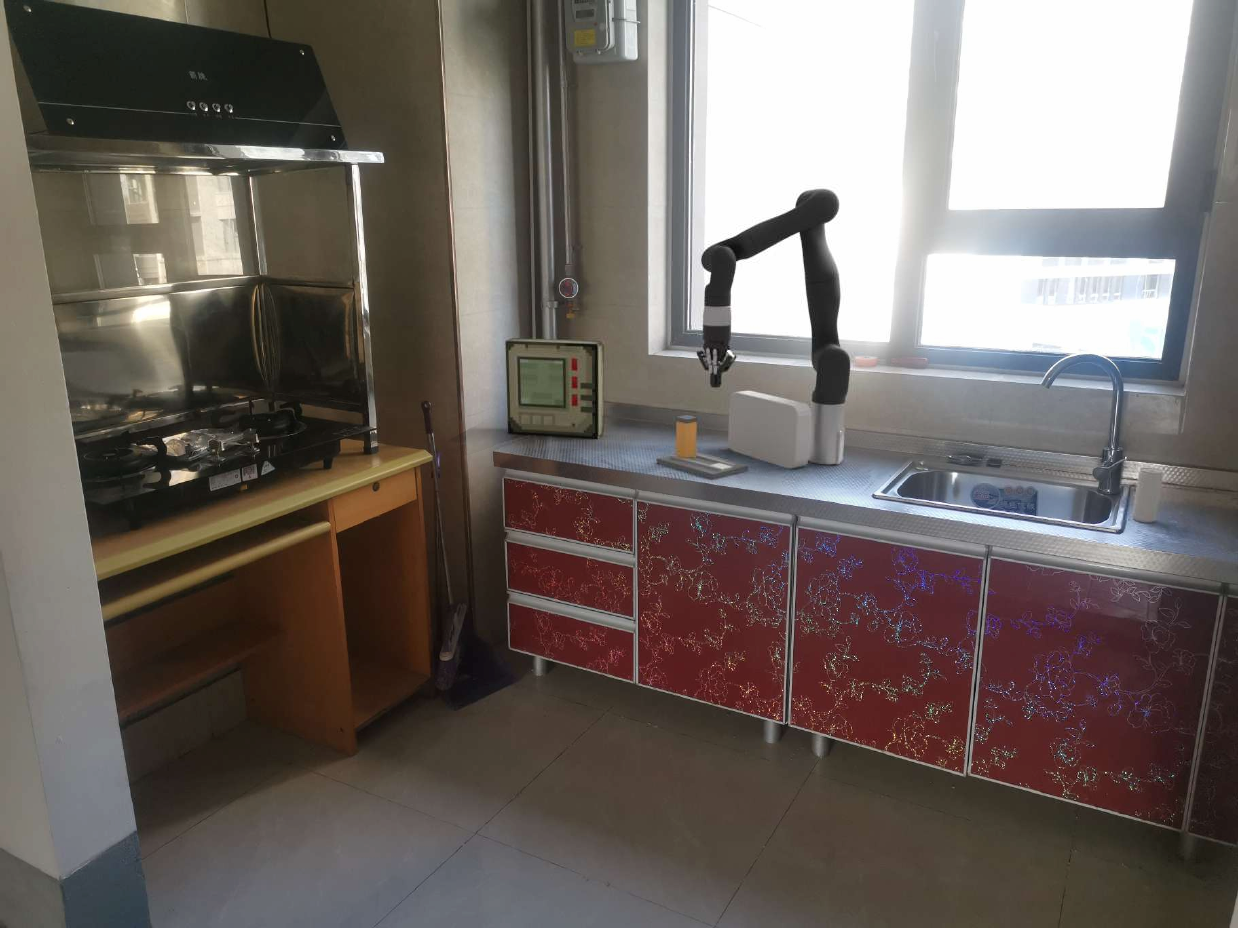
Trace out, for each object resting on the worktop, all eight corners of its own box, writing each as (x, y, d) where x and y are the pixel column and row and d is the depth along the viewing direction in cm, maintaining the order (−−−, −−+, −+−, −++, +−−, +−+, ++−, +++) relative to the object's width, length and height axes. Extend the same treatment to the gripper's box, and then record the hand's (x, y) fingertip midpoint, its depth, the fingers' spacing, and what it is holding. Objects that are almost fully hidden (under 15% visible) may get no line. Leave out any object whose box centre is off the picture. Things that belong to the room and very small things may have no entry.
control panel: (508, 434, 294) (505, 340, 286) (516, 429, 301) (513, 338, 293) (597, 439, 287) (597, 344, 279) (604, 434, 294) (603, 341, 286)
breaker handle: (675, 455, 259) (676, 417, 257) (685, 453, 262) (686, 415, 259) (685, 458, 256) (686, 419, 253) (696, 455, 259) (697, 417, 256)
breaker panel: (656, 463, 259) (656, 456, 258) (691, 455, 268) (691, 448, 267) (713, 479, 243) (713, 472, 242) (748, 470, 252) (748, 463, 251)
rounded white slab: (814, 466, 256) (818, 403, 251) (794, 470, 252) (798, 406, 247) (746, 446, 279) (749, 388, 274) (727, 449, 275) (729, 390, 270)
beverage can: (1147, 516, 214) (1155, 467, 210) (1160, 523, 209) (1168, 472, 206) (1127, 516, 213) (1135, 467, 210) (1139, 523, 209) (1147, 472, 206)
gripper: (745, 323, 240) (743, 388, 245) (708, 320, 250) (707, 382, 254) (726, 326, 236) (724, 392, 240) (689, 322, 245) (688, 385, 250)
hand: (715, 387), depth 247 cm, fingers closed
